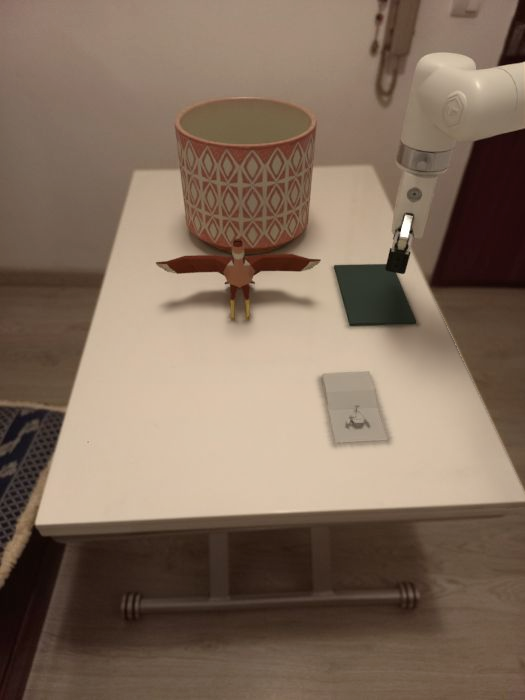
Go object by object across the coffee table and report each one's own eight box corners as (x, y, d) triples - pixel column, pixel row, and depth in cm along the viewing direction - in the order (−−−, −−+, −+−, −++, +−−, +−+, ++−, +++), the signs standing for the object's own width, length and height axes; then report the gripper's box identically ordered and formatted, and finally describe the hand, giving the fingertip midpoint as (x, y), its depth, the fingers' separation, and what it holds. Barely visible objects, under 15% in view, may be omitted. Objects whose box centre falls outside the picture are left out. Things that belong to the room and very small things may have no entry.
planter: (297, 269, 94) (306, 152, 78) (170, 253, 98) (152, 138, 82) (314, 206, 113) (324, 101, 97) (207, 194, 117) (199, 91, 101)
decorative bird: (152, 334, 75) (143, 240, 69) (169, 303, 92) (162, 225, 86) (326, 330, 76) (330, 237, 70) (310, 300, 93) (313, 223, 87)
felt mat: (391, 266, 95) (392, 263, 95) (416, 324, 83) (417, 321, 82) (334, 267, 95) (334, 264, 95) (349, 325, 82) (350, 323, 82)
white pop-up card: (367, 376, 74) (370, 365, 72) (387, 439, 65) (391, 429, 63) (321, 379, 73) (323, 368, 72) (335, 442, 65) (337, 432, 63)
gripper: (447, 184, 60) (416, 289, 72) (453, 137, 72) (425, 234, 84) (389, 175, 62) (368, 280, 74) (404, 130, 73) (383, 227, 86)
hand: (398, 255), depth 79 cm, fingers open, 9 cm apart
